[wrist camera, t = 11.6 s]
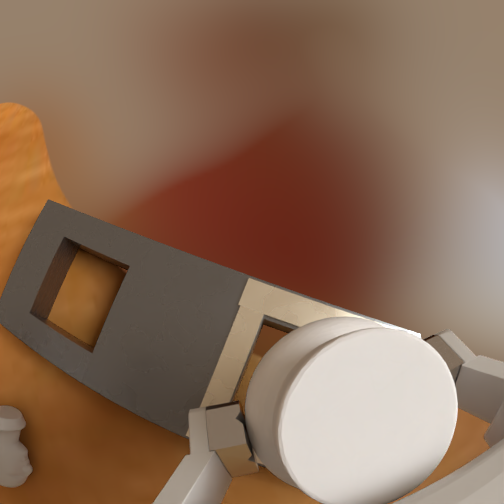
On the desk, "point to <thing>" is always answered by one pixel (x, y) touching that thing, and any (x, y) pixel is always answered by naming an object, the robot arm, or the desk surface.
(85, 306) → the desk surface
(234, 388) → the rail plate
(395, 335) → the supplement bottle
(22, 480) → the white lumpy figurine
